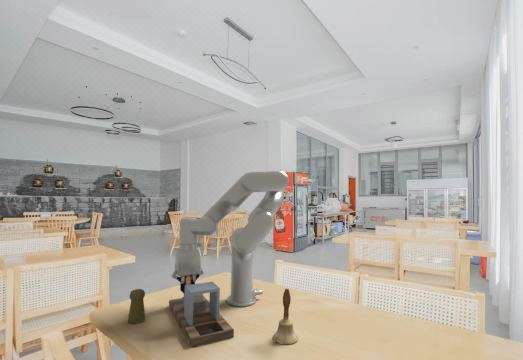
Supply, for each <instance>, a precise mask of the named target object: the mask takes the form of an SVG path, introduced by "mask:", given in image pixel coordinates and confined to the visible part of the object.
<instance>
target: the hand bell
mask: <svg viewBox="0 0 523 360" xmlns="http://www.w3.org/2000/svg"><path fill="white" fill-rule="evenodd" d="M290 293H291V292H290V289H289V288H284V291H283V295H282V306H283V316H282V317H283V318H282V319H280V320H279V321H278V328H277V330H276V331H275V332H274V334H273V335H272V340H273V341H274V340H275V341H274V342H276V343H277V342H278V344H280V343H282V344H281V345H286V344H289V345H293V344H292V343H294V344H296V343H297V342H298V341H299V336H298V335H297V334H296V333H295V331H294V326H293V325H294V323H293V321H292V320H291V319H289V315H290V313H289V311H290V310H289V308H290V306H291V299H292V297H291V294H290ZM297 340H298V341H297ZM296 341H297V342H296ZM295 342H296V343H295Z"/></svg>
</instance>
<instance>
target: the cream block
mask: <svg viewBox="0 0 523 360" xmlns="http://www.w3.org/2000/svg"><path fill="white" fill-rule="evenodd" d="M203 296H204V294H198V295H193V303H194V302H199V301H203ZM202 310H203V309H202ZM197 311H198V310H197Z"/></svg>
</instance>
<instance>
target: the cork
mask: <svg viewBox="0 0 523 360" xmlns="http://www.w3.org/2000/svg"><path fill="white" fill-rule="evenodd" d="M145 297H146V292H145V290H144V289H143V288H136V289H132V290H131V291H130V293H129V299H130V306H129V310H128V311H129V312H128V318H127V323H128V324H130V325H138V324H142V323H143V322H146V311H145V304H144V298H145Z"/></svg>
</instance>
